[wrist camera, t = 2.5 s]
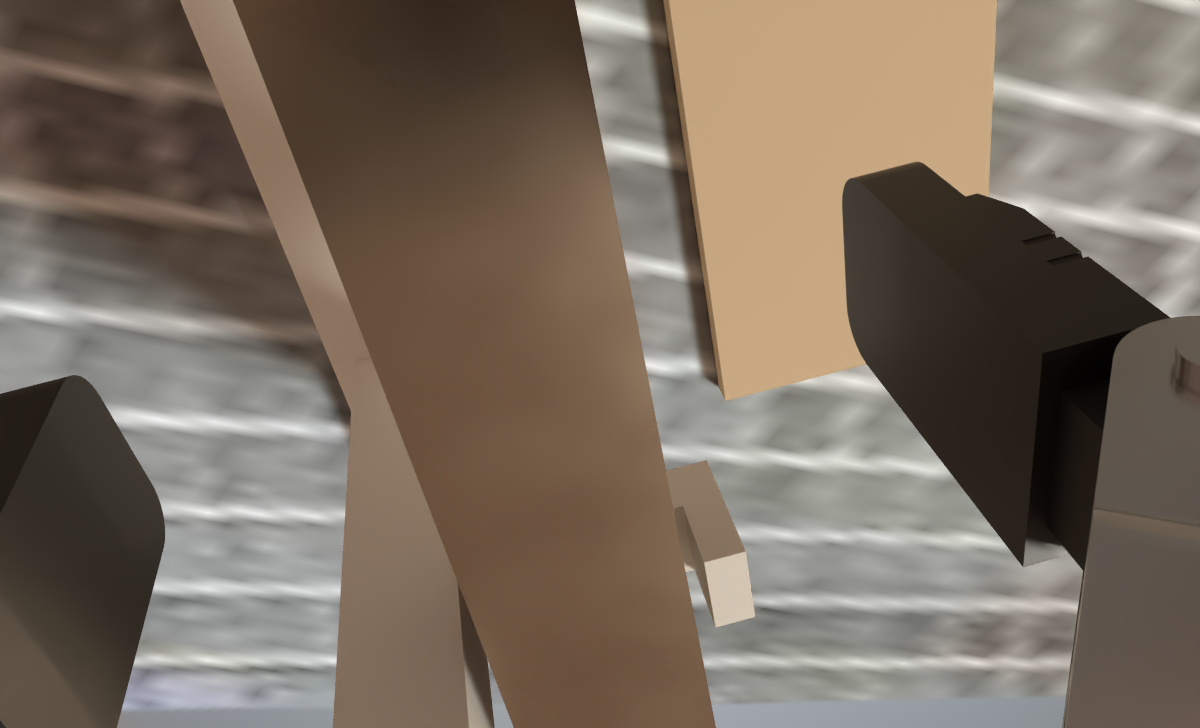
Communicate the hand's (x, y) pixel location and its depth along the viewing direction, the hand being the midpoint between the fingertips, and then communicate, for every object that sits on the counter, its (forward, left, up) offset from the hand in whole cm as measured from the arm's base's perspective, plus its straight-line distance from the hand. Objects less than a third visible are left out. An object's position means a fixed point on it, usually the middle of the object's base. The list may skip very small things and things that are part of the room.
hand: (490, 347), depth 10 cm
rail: (0, 0, -4) cm, 4 cm away
